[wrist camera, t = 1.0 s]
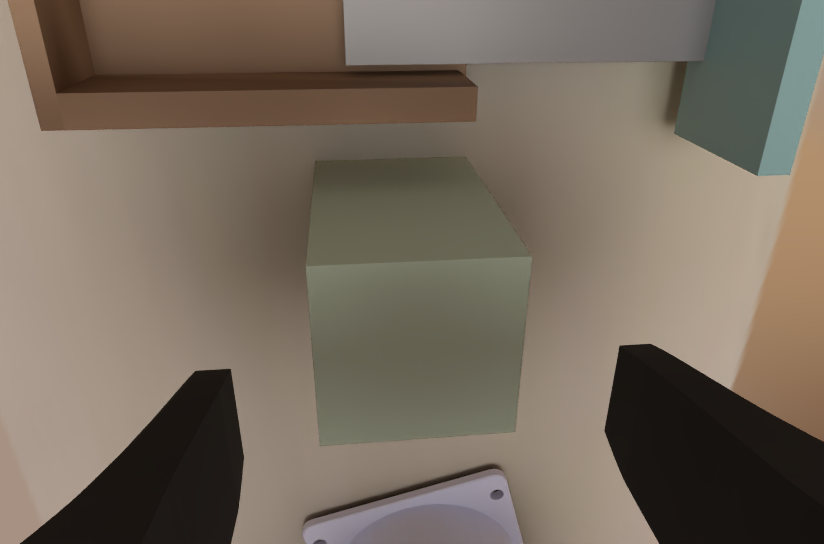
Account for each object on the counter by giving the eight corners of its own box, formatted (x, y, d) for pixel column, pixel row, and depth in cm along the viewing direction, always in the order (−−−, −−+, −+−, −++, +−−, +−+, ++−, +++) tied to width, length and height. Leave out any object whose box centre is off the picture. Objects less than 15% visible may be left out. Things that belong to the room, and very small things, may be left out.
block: (460, 288, 21) (514, 431, 14) (324, 295, 20) (319, 446, 14) (465, 156, 19) (532, 256, 12) (315, 160, 18) (305, 266, 12)
